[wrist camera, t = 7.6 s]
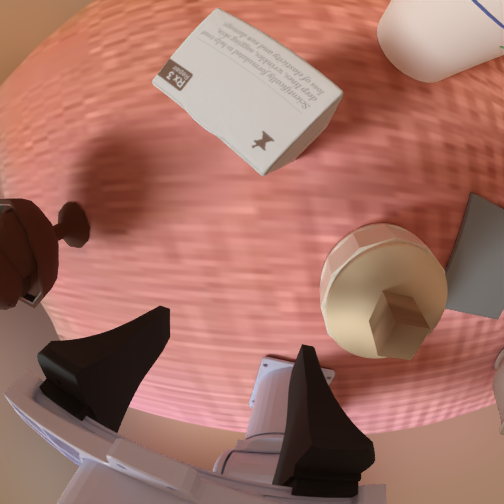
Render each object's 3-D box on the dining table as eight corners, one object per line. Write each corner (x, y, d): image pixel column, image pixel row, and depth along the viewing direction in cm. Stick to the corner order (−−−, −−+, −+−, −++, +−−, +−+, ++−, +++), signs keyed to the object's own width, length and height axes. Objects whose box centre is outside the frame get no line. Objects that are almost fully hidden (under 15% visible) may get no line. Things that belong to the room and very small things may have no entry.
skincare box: (329, 125, 18) (360, 91, 7) (289, 165, 20) (267, 185, 9) (268, 74, 17) (222, -3, 6) (230, 114, 19) (144, 83, 8)
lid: (411, 357, 19) (424, 396, 15) (310, 341, 20) (308, 383, 16) (461, 259, 15) (491, 288, 11) (348, 226, 17) (361, 252, 12)
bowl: (401, 334, 23) (411, 361, 19) (306, 316, 24) (305, 344, 21) (443, 240, 19) (465, 257, 15) (338, 208, 20) (345, 221, 17)
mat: (496, 317, 20) (497, 319, 20) (430, 302, 21) (432, 305, 21) (532, 227, 16) (535, 228, 15) (470, 192, 17) (473, 193, 16)
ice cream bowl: (88, 163, 23) (-39, 197, 9) (119, 263, 26) (15, 343, 13) (40, 194, 26) (-54, 231, 12) (66, 274, 29) (-15, 333, 15)
